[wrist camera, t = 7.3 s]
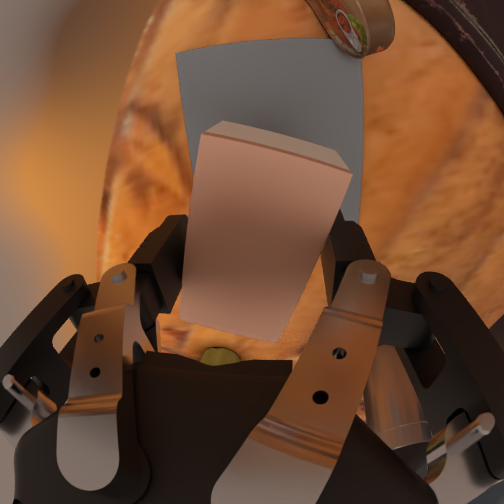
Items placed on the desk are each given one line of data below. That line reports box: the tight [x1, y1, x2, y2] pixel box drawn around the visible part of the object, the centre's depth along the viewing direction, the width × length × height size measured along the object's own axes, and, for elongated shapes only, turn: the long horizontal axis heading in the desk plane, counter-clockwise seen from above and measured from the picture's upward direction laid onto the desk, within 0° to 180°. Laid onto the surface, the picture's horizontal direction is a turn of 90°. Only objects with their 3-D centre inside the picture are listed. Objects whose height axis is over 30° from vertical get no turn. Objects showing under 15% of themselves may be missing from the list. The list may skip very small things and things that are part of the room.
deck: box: [179, 121, 353, 343], centre depth 11 cm, size 4×8×3 cm, turn 167°
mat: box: [176, 38, 363, 224], centre depth 24 cm, size 20×16×1 cm
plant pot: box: [200, 348, 240, 366], centre depth 39 cm, size 9×9×9 cm
